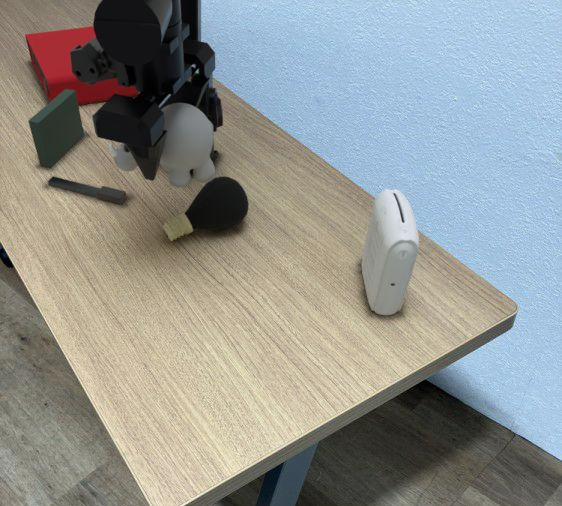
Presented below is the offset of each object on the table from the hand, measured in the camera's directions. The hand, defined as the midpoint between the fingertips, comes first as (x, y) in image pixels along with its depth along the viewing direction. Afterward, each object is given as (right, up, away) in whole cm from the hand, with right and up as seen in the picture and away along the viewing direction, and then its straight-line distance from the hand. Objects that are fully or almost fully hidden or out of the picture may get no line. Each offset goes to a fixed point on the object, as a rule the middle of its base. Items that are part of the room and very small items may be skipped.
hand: (165, 158), depth 73 cm
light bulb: (+3, -5, +11) cm, 13 cm away
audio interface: (-21, +26, +35) cm, 48 cm away
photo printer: (+26, -15, +6) cm, 30 cm away
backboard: (-19, +9, +20) cm, 29 cm away
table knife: (-14, +1, +14) cm, 20 cm away
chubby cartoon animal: (0, -2, +1) cm, 2 cm away
